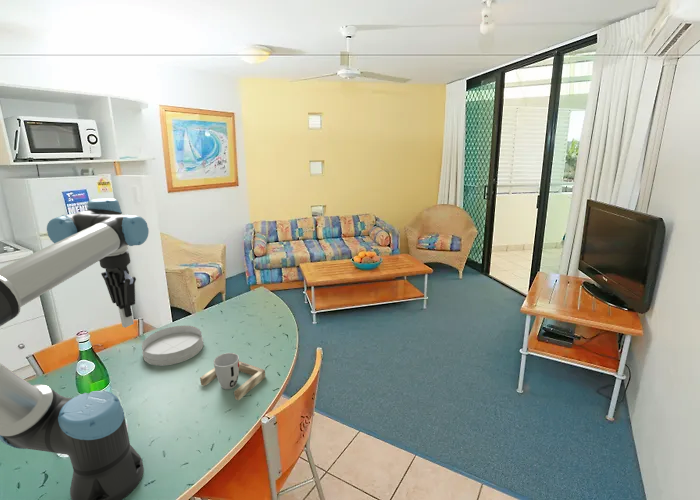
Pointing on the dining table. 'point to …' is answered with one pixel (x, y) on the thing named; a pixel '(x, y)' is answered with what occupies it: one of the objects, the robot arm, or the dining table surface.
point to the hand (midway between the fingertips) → (128, 325)
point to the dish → (172, 345)
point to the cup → (227, 369)
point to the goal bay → (256, 377)
